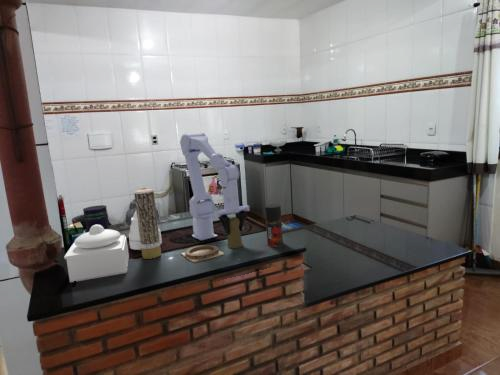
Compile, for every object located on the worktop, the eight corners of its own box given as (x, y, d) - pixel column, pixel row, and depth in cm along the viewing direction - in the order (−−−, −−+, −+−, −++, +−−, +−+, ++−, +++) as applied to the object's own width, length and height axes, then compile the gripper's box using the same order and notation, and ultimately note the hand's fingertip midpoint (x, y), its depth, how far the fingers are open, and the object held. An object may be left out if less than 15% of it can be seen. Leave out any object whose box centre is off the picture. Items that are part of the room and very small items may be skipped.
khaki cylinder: (240, 248, 137) (238, 219, 135) (225, 248, 138) (222, 220, 137) (244, 243, 143) (242, 215, 141) (229, 243, 144) (227, 216, 143)
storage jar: (91, 244, 157) (86, 211, 155) (84, 240, 164) (79, 208, 162) (114, 239, 163) (110, 206, 161) (106, 235, 171) (102, 204, 169)
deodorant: (265, 246, 137) (262, 207, 135) (270, 241, 142) (267, 204, 140) (280, 247, 135) (277, 207, 132) (285, 242, 140) (282, 204, 138)
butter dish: (127, 273, 121) (120, 227, 119) (68, 283, 116) (60, 235, 114) (129, 256, 138) (123, 216, 135) (77, 265, 133) (71, 222, 131)
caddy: (180, 254, 135) (180, 250, 135) (209, 246, 141) (209, 242, 141) (194, 263, 125) (193, 258, 125) (224, 254, 131) (224, 249, 131)
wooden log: (164, 253, 137) (157, 188, 134) (154, 260, 131) (146, 192, 127) (149, 253, 140) (141, 189, 136) (138, 259, 133) (130, 192, 130)
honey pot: (168, 242, 151) (163, 200, 149) (140, 251, 142) (134, 207, 139) (151, 238, 160) (146, 198, 157) (124, 246, 151) (118, 204, 148)
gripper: (219, 202, 131) (222, 238, 133) (252, 195, 138) (255, 230, 140) (210, 199, 136) (213, 234, 139) (242, 193, 144) (245, 226, 146)
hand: (233, 232), depth 140 cm, fingers closed on khaki cylinder, 5 cm apart
